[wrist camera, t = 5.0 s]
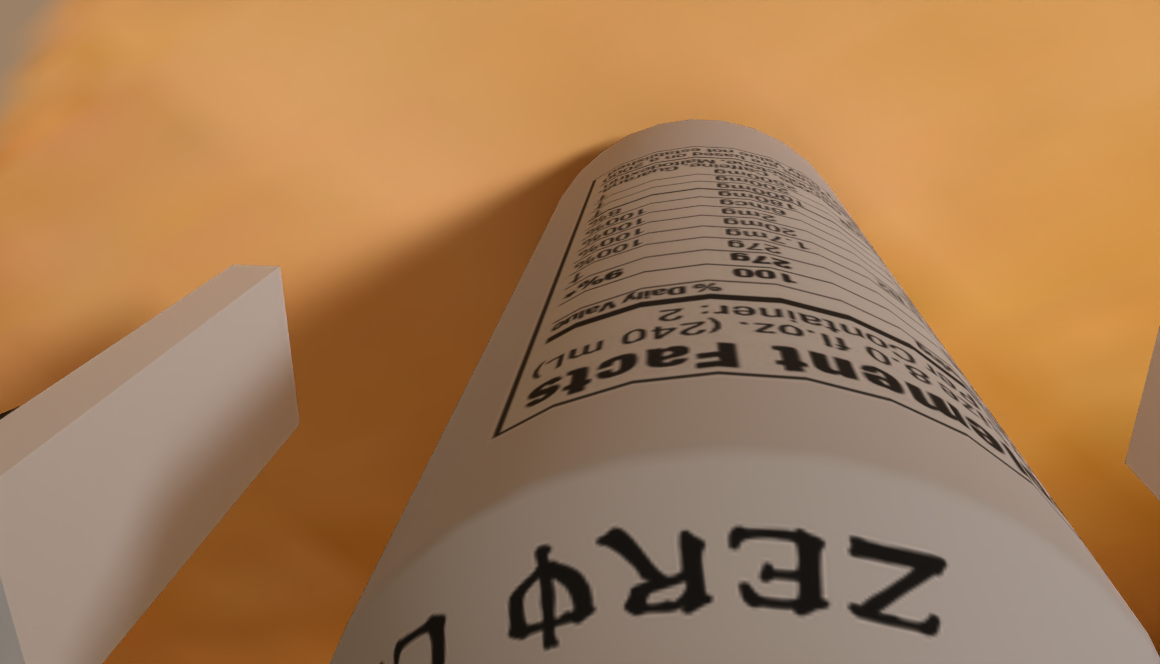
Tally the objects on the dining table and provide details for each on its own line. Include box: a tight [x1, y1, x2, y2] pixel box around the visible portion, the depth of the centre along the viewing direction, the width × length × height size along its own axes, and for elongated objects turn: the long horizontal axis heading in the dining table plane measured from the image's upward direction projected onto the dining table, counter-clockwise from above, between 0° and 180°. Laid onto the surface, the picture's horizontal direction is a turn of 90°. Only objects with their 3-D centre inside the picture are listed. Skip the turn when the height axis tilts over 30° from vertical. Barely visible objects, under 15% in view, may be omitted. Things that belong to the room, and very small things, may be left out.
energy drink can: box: [330, 119, 1160, 664], centre depth 12 cm, size 6×6×15 cm
